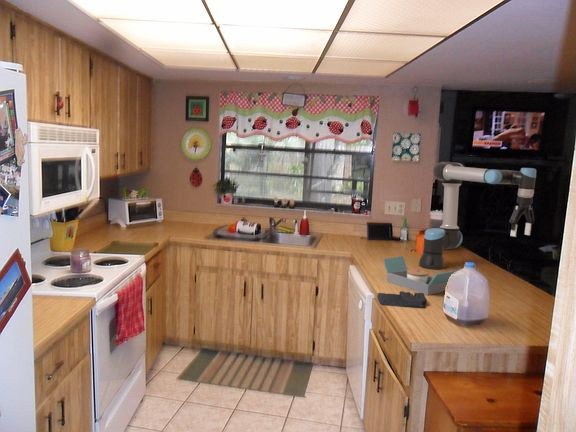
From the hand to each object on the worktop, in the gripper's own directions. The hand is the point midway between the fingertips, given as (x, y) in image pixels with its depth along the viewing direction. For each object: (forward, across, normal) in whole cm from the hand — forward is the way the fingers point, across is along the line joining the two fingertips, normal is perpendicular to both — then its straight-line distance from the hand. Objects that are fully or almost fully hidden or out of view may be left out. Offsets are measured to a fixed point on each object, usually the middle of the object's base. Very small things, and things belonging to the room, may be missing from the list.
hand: (520, 235), depth 254 cm
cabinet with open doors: (+27, -57, +19) cm, 66 cm away
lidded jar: (+28, -57, +19) cm, 66 cm away
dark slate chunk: (+28, -84, +4) cm, 89 cm away
